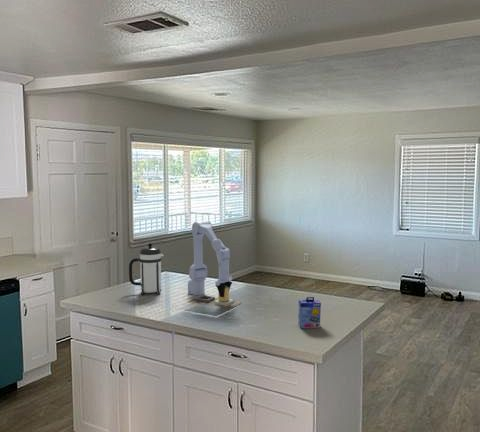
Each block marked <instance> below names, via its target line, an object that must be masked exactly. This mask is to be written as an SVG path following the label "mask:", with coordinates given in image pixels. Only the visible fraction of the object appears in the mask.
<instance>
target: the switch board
mask: <svg viewBox="0 0 480 432" xmlns="http://www.w3.org/2000/svg"><path fill="white" fill-rule="evenodd" d="M201 296H202V295H199V297H201ZM196 298H197V297H196ZM196 298H193V299H191V300H189V301H188V303H192V304H198V305H205V306H209V307H211V306H213V307H218V308H225V309H228V311H230V310H232V309H234V308H235V307H238V306H240V305H242V303H243V302H242V301H237V300H234V303H232V304H230V305H228V306H223V305H217V304H214V301H216V300H218V299H219V297H215V300H213V301H211V302H209V303H205V302H198V301H196ZM206 300H207V299H206ZM222 302H223V301H222Z"/></svg>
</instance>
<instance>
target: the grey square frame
mask: <svg viewBox="0 0 480 432" xmlns="http://www.w3.org/2000/svg"><path fill="white" fill-rule="evenodd" d="M200 296H201V297H200ZM200 296H198V297H196V301H198V302H205V303H209V302H211V301H213V300H215V298H216V297H215V296H211V295H204V294H202V295H200ZM206 299H207V300H206Z"/></svg>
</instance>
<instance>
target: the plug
mask: <svg viewBox="0 0 480 432" xmlns="http://www.w3.org/2000/svg"><path fill="white" fill-rule="evenodd" d="M229 292H230V289H229V287H227V286H226V287H225V292H224V297H220V295H219V294H218V298H219V301H224V302H225V301H228V300H229V297H230V294H229Z"/></svg>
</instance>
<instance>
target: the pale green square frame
mask: <svg viewBox="0 0 480 432" xmlns="http://www.w3.org/2000/svg"><path fill="white" fill-rule="evenodd" d="M234 301H235V300H234V299H231V298H230V299H229V300H228V301H225V302H224V301H223V302H222V301H219V299H218V300H216V301H214V304H217V305H223V306H228V305H230V304H232V303H234Z"/></svg>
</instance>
